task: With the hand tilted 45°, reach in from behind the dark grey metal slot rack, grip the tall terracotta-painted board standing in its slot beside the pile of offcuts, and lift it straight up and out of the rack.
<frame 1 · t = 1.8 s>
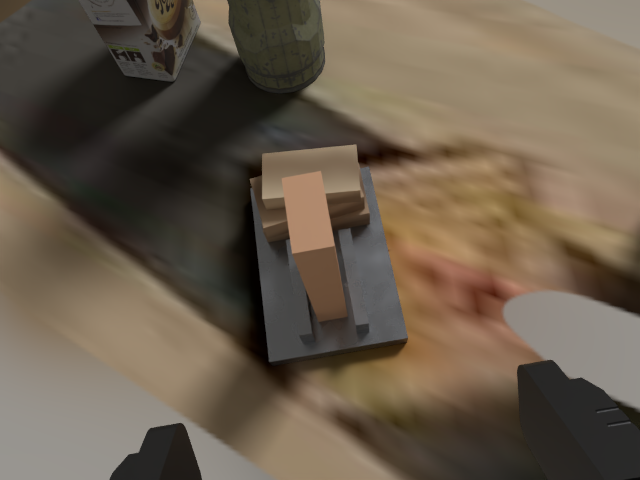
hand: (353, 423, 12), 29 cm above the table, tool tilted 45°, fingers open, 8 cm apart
rack: (329, 296, 44), on the table
thermos: (284, 62, 55), on the table
offcut pile: (309, 194, 43), point 4 cm above the table
coffee box: (164, 49, 58), on the table
board: (328, 290, 42), point 1 cm above the table, touching rack
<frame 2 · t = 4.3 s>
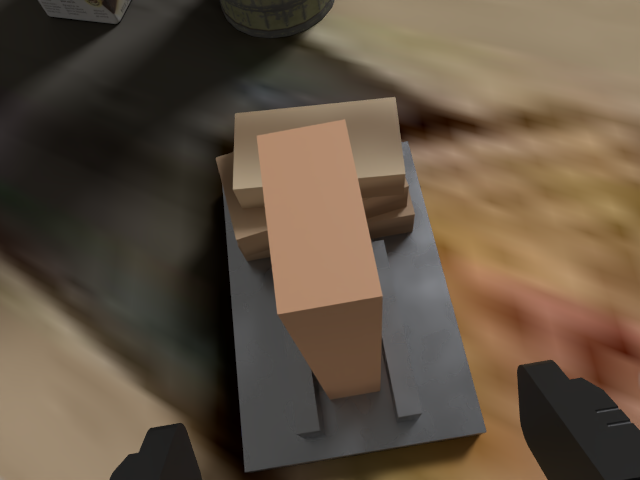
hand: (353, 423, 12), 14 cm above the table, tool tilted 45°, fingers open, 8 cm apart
rack: (347, 350, 27), on the table
offcut pile: (314, 182, 26), point 4 cm above the table
board: (346, 343, 25), point 1 cm above the table, touching rack
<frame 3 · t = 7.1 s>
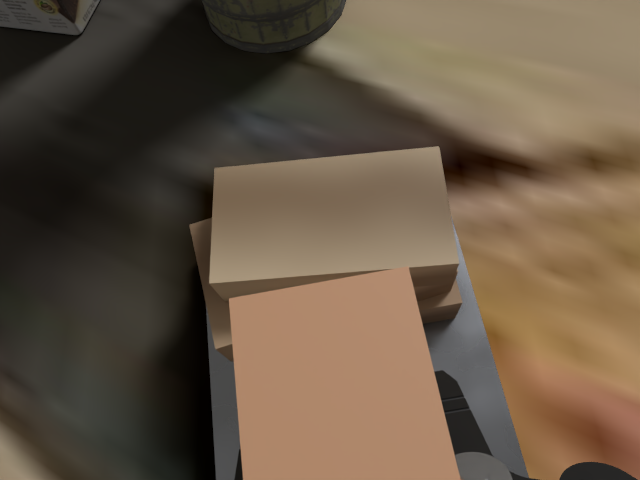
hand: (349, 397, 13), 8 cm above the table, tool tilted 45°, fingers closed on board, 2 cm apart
thermos: (275, 1, 31), on the table
offcut pile: (324, 258, 19), point 4 cm above the table
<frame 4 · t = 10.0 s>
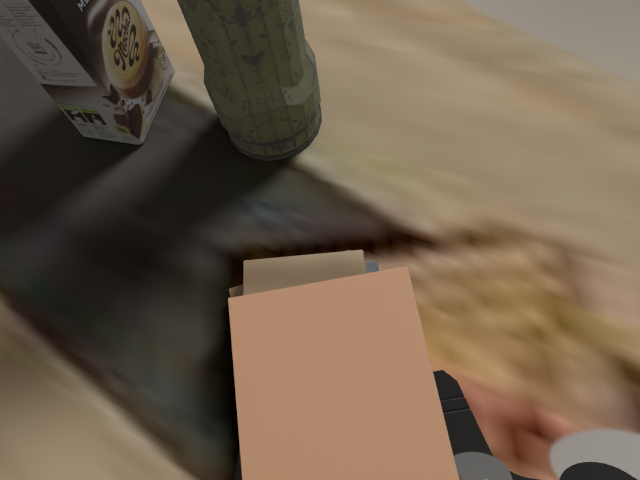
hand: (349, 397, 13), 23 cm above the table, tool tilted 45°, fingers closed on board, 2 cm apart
thermos: (273, 121, 47), on the table
offcut pile: (303, 306, 34), point 4 cm above the table
coffee box: (132, 104, 49), on the table
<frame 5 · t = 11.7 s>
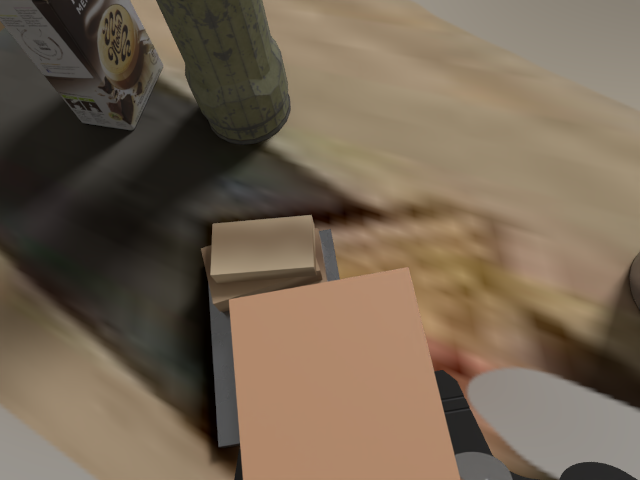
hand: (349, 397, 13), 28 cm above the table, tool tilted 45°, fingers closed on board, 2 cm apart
rack: (286, 370, 41), on the table
thermos: (248, 110, 53), on the table
offcut pile: (264, 264, 41), point 4 cm above the table
coffee box: (125, 95, 56), on the table
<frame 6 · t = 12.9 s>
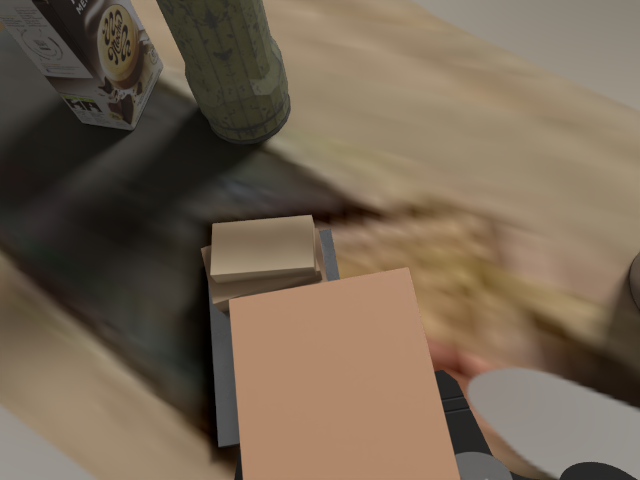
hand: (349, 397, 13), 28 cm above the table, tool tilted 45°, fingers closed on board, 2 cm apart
rack: (286, 370, 41), on the table
thermos: (248, 110, 53), on the table
offcut pile: (264, 264, 41), point 4 cm above the table
coffee box: (125, 95, 56), on the table
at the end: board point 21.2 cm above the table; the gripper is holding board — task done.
